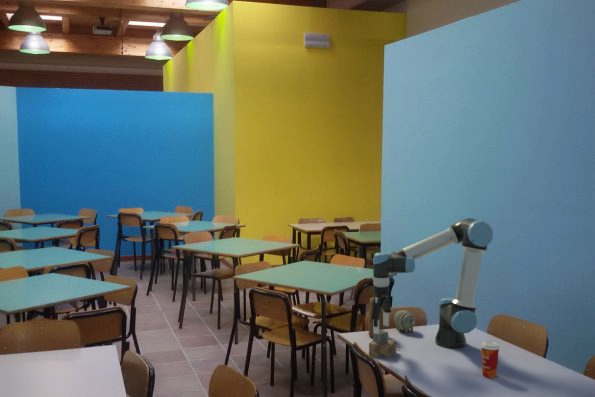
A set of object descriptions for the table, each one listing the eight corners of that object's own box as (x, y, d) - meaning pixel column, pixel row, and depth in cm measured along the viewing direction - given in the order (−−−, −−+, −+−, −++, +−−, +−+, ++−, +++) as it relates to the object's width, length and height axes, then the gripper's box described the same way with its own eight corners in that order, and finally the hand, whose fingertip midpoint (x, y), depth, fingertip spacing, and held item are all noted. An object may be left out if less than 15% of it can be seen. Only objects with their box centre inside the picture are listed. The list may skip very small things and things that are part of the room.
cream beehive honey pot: (401, 325, 317) (402, 306, 316) (423, 333, 303) (423, 313, 302) (387, 328, 311) (387, 308, 311) (408, 336, 297) (408, 315, 296)
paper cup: (477, 372, 247) (478, 340, 246) (495, 372, 247) (496, 341, 246) (483, 379, 239) (483, 346, 238) (501, 379, 239) (502, 346, 238)
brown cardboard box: (395, 353, 272) (396, 340, 272) (389, 359, 263) (389, 346, 263) (376, 349, 277) (376, 337, 276) (368, 355, 268) (369, 343, 268)
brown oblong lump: (383, 338, 293) (383, 300, 292) (368, 338, 294) (369, 300, 293) (382, 332, 304) (383, 295, 303) (368, 332, 305) (368, 295, 304)
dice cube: (379, 344, 267) (379, 333, 266) (373, 341, 271) (373, 330, 271) (387, 342, 269) (388, 332, 269) (381, 339, 274) (381, 329, 273)
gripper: (382, 279, 281) (382, 321, 283) (364, 290, 259) (364, 335, 261) (397, 281, 278) (397, 323, 279) (379, 291, 256) (379, 337, 257)
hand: (381, 329), depth 270 cm, fingers open, 13 cm apart
